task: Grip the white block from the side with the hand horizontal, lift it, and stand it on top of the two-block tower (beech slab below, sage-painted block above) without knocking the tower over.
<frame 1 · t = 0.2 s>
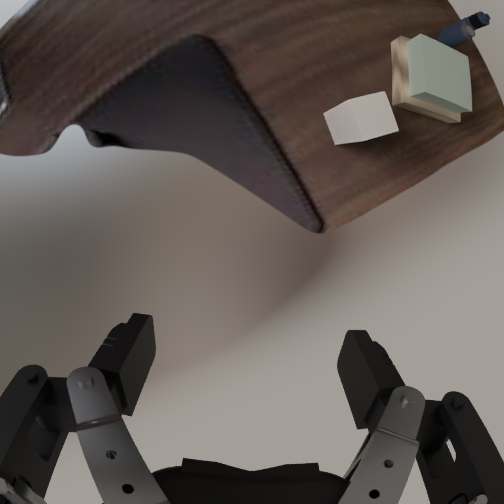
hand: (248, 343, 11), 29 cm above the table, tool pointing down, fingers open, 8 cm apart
vaping device: (443, 39, 30), on the table
white block: (344, 124, 35), on the table
top block: (433, 77, 29), point 3 cm above the table, touching base block
base block: (419, 83, 33), on the table, touching top block
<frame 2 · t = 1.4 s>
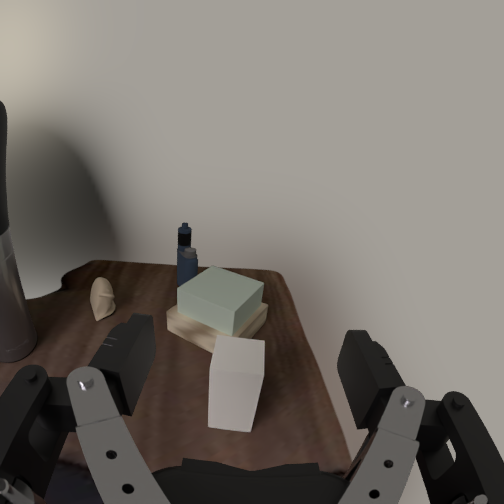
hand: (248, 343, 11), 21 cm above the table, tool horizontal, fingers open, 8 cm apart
decorative ornament: (103, 310, 43), on the table
vaping device: (186, 288, 53), on the table
white block: (231, 413, 29), on the table
top block: (220, 308, 42), point 3 cm above the table, touching base block
base block: (217, 329, 44), on the table, touching top block
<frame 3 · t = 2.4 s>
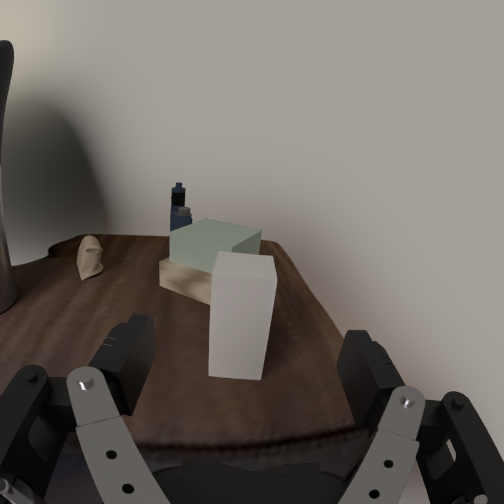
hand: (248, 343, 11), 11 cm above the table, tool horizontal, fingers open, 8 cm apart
decorative ornament: (90, 272, 39), on the table
vaping device: (179, 253, 50), on the table
white block: (235, 361, 26), on the table
top block: (215, 258, 40), point 4 cm above the table
base block: (214, 285, 41), on the table
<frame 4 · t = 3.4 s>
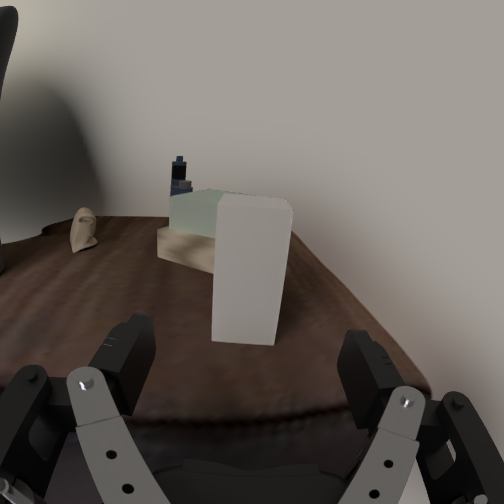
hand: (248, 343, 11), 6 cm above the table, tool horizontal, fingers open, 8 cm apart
decorative ornament: (83, 246, 36), on the table
vaping device: (180, 230, 47), on the table
white block: (243, 326, 23), on the table
top block: (218, 227, 37), point 4 cm above the table, touching base block
base block: (217, 257, 38), on the table, touching top block
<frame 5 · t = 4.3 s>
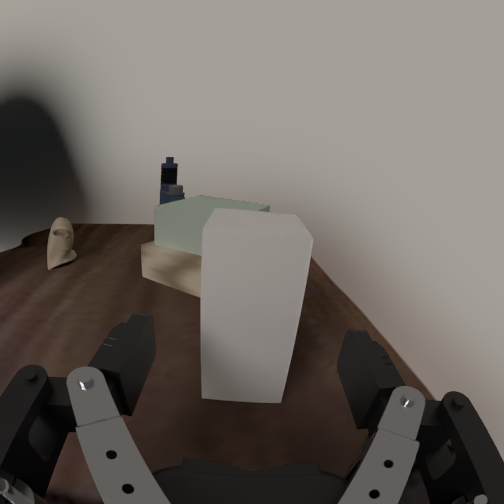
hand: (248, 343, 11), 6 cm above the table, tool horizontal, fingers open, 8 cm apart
decorative ornament: (61, 261, 31), on the table
vaping device: (171, 241, 42), on the table
white block: (242, 375, 17), on the table
top block: (213, 241, 31), point 3 cm above the table
base block: (212, 276, 32), on the table
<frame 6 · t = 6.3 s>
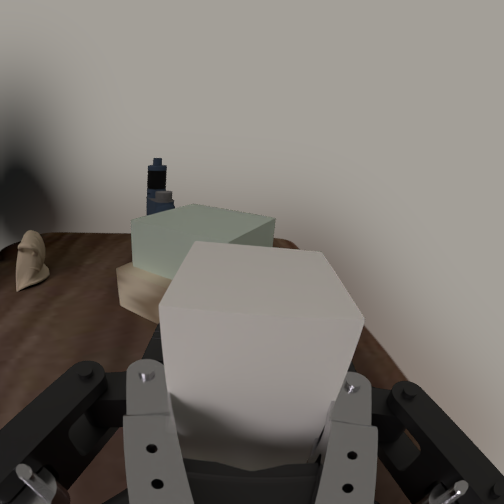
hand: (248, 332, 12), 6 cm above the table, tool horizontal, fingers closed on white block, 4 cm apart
decorative ornament: (32, 280, 25), on the table
vaping device: (159, 255, 36), on the table
white block: (238, 455, 12), on the table, touching gripper
top block: (205, 262, 25), point 4 cm above the table, touching base block
base block: (204, 304, 26), on the table, touching top block
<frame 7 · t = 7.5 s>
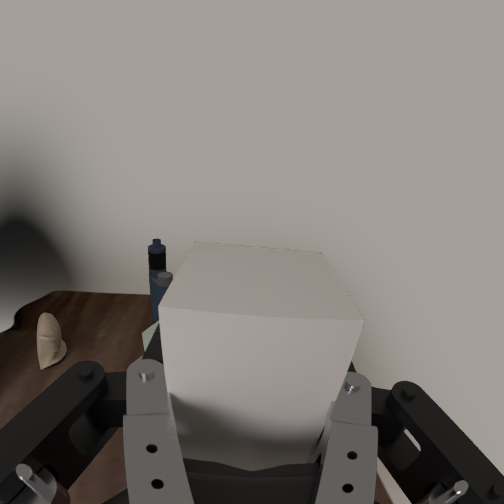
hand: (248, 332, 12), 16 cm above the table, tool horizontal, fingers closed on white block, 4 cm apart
decorative ornament: (52, 355, 28), on the table
vaping device: (164, 325, 39), on the table
white block: (238, 456, 12), point 10 cm above the table, touching gripper
when the fingers open (14 cm above the table, at t = 11.5 s): white block stays where it is, resting on top block.
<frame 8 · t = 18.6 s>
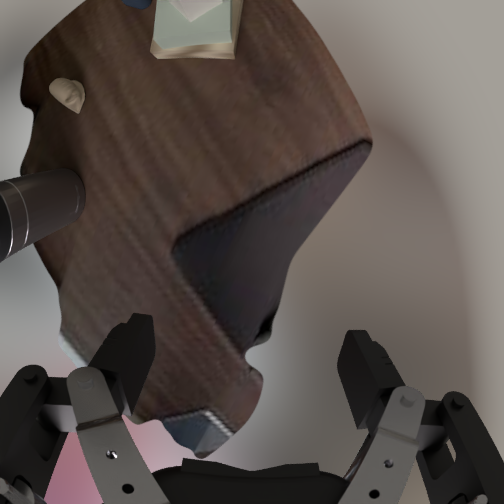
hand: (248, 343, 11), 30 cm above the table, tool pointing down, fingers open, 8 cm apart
decorative ornament: (75, 96, 34), on the table
vaping device: (138, 2, 28), on the table
white block: (195, 1, 24), point 7 cm above the table, touching top block
top block: (197, 17, 27), point 3 cm above the table, touching white block
base block: (201, 27, 31), on the table
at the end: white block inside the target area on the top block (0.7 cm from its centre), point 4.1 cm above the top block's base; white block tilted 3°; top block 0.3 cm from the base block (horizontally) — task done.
